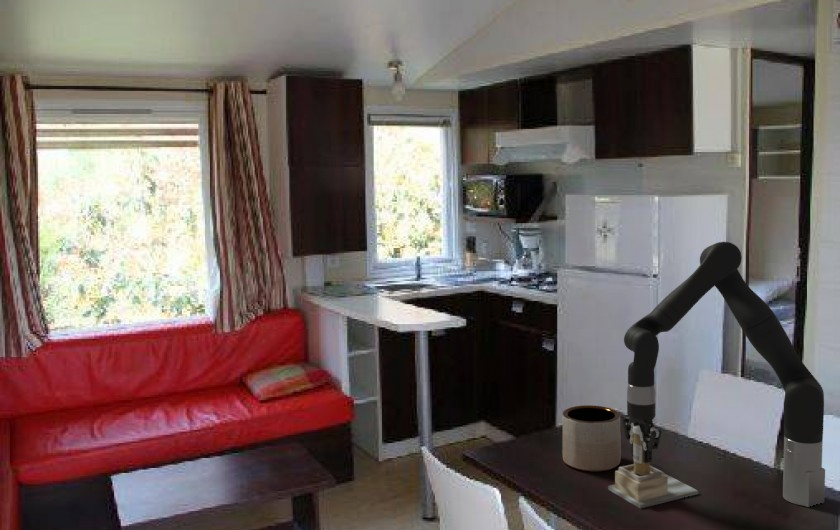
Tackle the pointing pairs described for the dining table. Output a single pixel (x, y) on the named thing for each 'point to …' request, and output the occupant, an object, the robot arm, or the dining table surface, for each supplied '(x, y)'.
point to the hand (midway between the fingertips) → (641, 459)
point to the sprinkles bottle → (639, 454)
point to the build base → (672, 493)
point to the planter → (591, 438)
